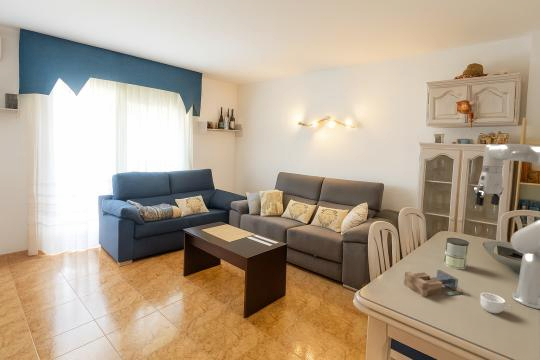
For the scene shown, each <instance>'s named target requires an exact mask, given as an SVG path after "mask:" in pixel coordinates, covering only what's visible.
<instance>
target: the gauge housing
mask: <svg viewBox="0 0 540 360" xmlns="http://www.w3.org/2000/svg"><path fill="white" fill-rule="evenodd" d="M428 278H431V276H430V275H429V274H428V273H426V272H417V273H412V272H411V271H405V272H404V279H403V280H404V282H403V285H404V284H405V286H406V287H407V286H408V287H407V288H409V289H411V290H412V291H413V292H415V293H416V294H417V293H418V294H417V295H419V296H420V295H421V296H420V297H421V298H423V297H427V296H433V295H440V294H442V288H443V285H442V282H440V281H438V280H436V279H433V280H428ZM443 294H444V296H447V297H449V296H450V297H451V296H459V295H463V292H462V291H461V292H459V291H457V290H454V291H447V292H443Z"/></svg>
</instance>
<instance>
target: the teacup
mask: <svg viewBox="0 0 540 360" xmlns="http://www.w3.org/2000/svg"><path fill="white" fill-rule="evenodd" d="M479 303H480V306H481V307H482V308H483V309H484V310H485V311H486V312H488V313H491V314H499V313H501V312H510V311H512V309H513V308H512V305H510V304H509V303H506V300H505V298H504V297H502V296H500V295H497V294H493V293H492V292H490V293H489V292H481V293H480V302H479ZM507 306H509V309H507V308H505V307H507Z"/></svg>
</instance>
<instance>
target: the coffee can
mask: <svg viewBox="0 0 540 360" xmlns="http://www.w3.org/2000/svg"><path fill="white" fill-rule="evenodd" d="M469 245H470V242H469V241H467V240H465V239H463V238H458V237H447V238H446V242H445V252H444V261H443V264H444V265H445V266H446V267H448V268H452V269H456V270H466V267H467V259H468V253H469Z"/></svg>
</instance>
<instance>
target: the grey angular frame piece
mask: <svg viewBox="0 0 540 360" xmlns="http://www.w3.org/2000/svg"><path fill="white" fill-rule="evenodd" d="M436 271H437V272H436V276H434V277H430V278H428V280H433V279H436V280H438V281H440V282H442V286H443V285H445V286H446V287H448V288H450V289H451V290H454V291H459V292H462V290H461V289H459V287H458V286H459V285H458V284H459V278H457V277H454V276H453V275H451V274H449V273H447V272H445V271H443V270H441V269H437V270H436Z"/></svg>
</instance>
